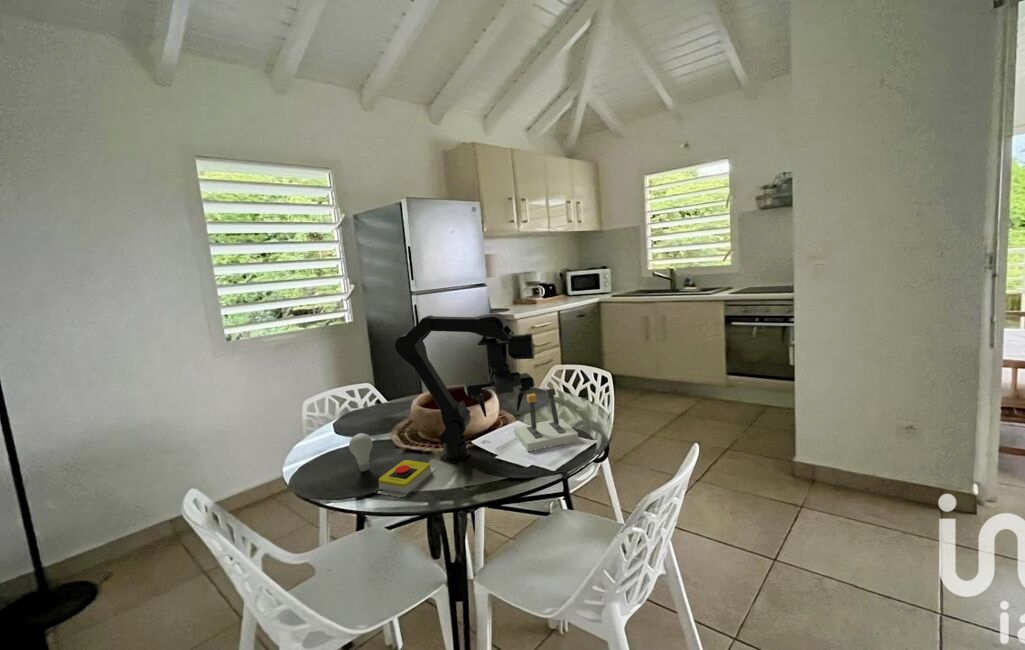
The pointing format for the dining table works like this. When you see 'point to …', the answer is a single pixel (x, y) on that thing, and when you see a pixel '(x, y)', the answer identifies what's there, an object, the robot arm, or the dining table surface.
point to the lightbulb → (361, 450)
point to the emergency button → (404, 478)
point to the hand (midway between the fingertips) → (501, 413)
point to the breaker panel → (546, 430)
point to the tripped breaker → (532, 409)
